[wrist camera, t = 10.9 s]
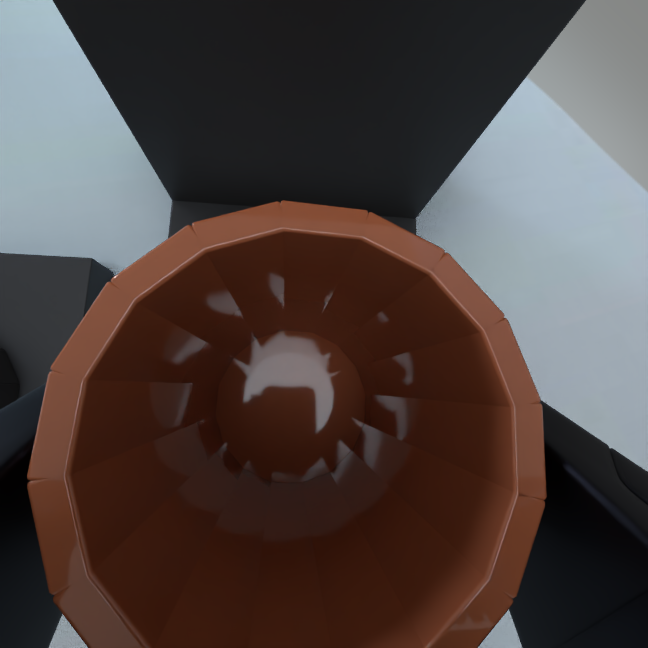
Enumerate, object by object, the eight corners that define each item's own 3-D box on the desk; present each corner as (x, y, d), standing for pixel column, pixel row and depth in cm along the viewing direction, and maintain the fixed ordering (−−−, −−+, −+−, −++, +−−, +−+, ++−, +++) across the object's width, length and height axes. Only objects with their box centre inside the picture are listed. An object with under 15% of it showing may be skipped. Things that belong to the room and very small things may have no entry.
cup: (398, 366, 15) (602, 329, 5) (329, 521, 14) (439, 847, 4) (257, 294, 15) (208, 126, 5) (174, 444, 14) (-101, 590, 4)
